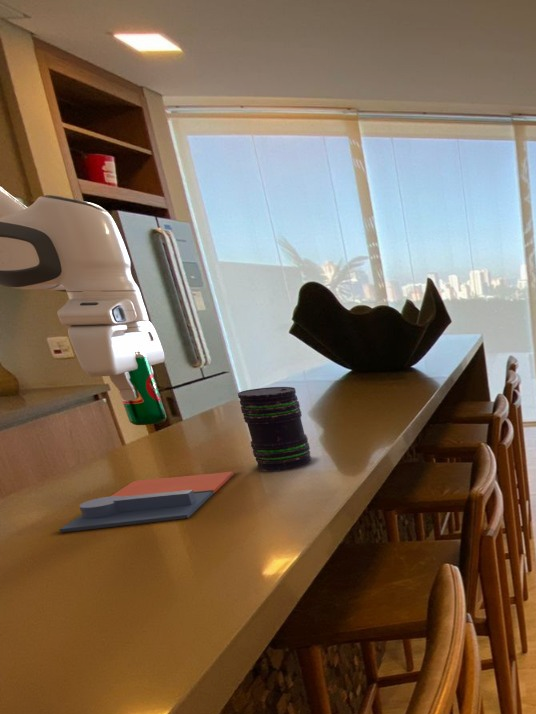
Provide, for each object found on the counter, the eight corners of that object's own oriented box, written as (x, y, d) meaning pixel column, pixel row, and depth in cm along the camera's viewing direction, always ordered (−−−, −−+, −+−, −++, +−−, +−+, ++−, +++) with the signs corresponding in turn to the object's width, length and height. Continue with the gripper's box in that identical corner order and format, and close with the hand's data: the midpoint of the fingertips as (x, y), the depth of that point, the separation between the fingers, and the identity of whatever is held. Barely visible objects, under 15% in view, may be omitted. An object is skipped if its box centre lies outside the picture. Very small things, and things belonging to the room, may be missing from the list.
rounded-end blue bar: (76, 520, 87) (71, 508, 86) (93, 508, 91) (89, 497, 91) (188, 508, 91) (184, 496, 90) (199, 497, 96) (196, 486, 95)
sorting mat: (60, 532, 84) (58, 528, 84) (134, 484, 105) (133, 480, 105) (188, 518, 89) (186, 514, 88) (234, 474, 110) (233, 470, 109)
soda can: (122, 425, 96) (96, 352, 92) (152, 418, 101) (129, 349, 96) (145, 426, 95) (120, 353, 91) (175, 420, 100) (152, 349, 95)
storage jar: (261, 474, 109) (239, 397, 104) (253, 463, 116) (233, 390, 111) (317, 464, 115) (300, 391, 109) (307, 454, 122) (290, 385, 116)
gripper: (118, 309, 99) (144, 388, 104) (49, 313, 81) (85, 408, 86) (161, 308, 101) (185, 386, 106) (103, 312, 83) (135, 405, 88)
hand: (140, 396), depth 96 cm, fingers closed on soda can, 5 cm apart
